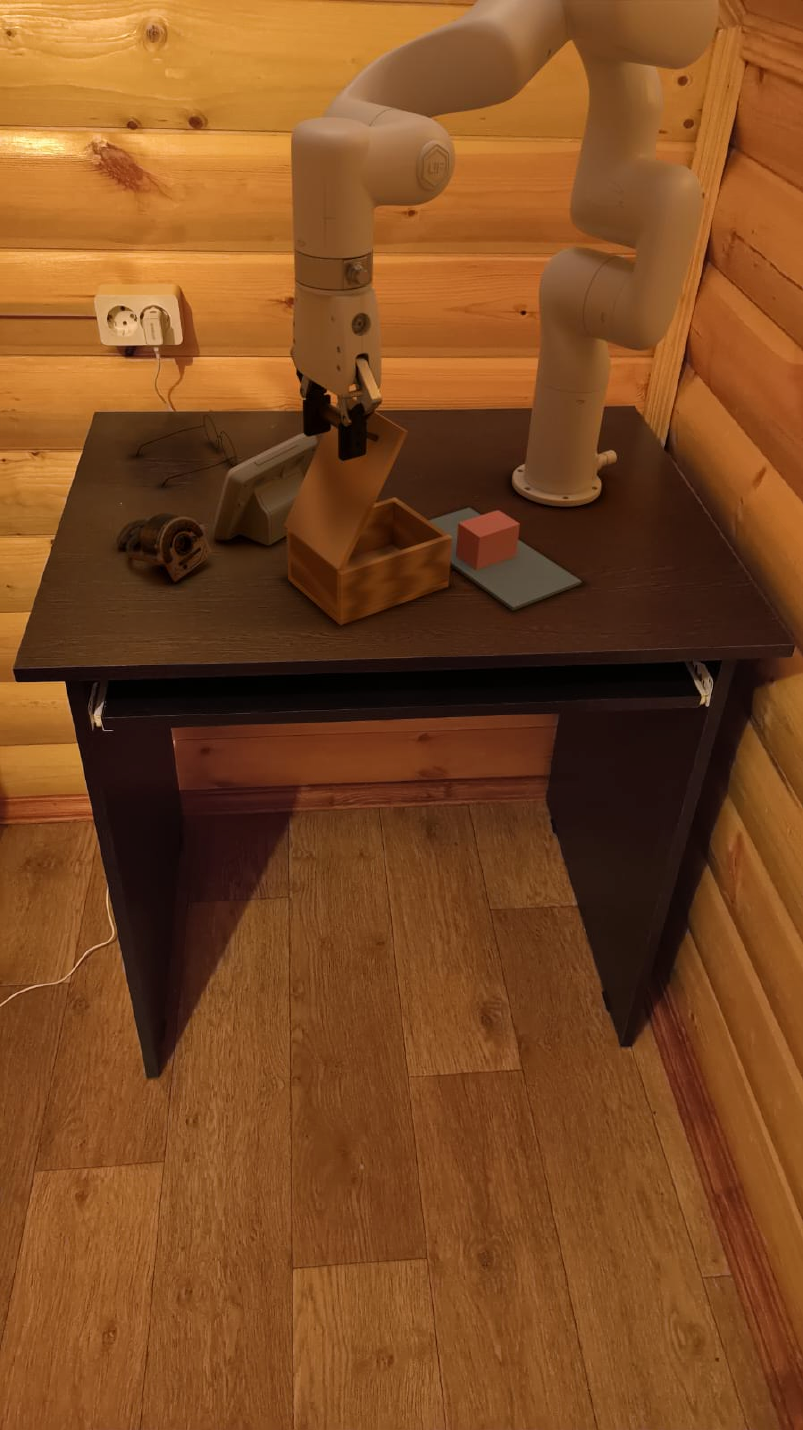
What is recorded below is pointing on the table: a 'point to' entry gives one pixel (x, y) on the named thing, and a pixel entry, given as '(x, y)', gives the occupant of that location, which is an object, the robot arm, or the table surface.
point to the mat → (509, 569)
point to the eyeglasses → (210, 442)
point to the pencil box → (375, 564)
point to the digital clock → (264, 491)
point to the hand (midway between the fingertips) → (334, 443)
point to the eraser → (487, 539)
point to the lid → (343, 487)
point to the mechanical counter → (167, 542)
